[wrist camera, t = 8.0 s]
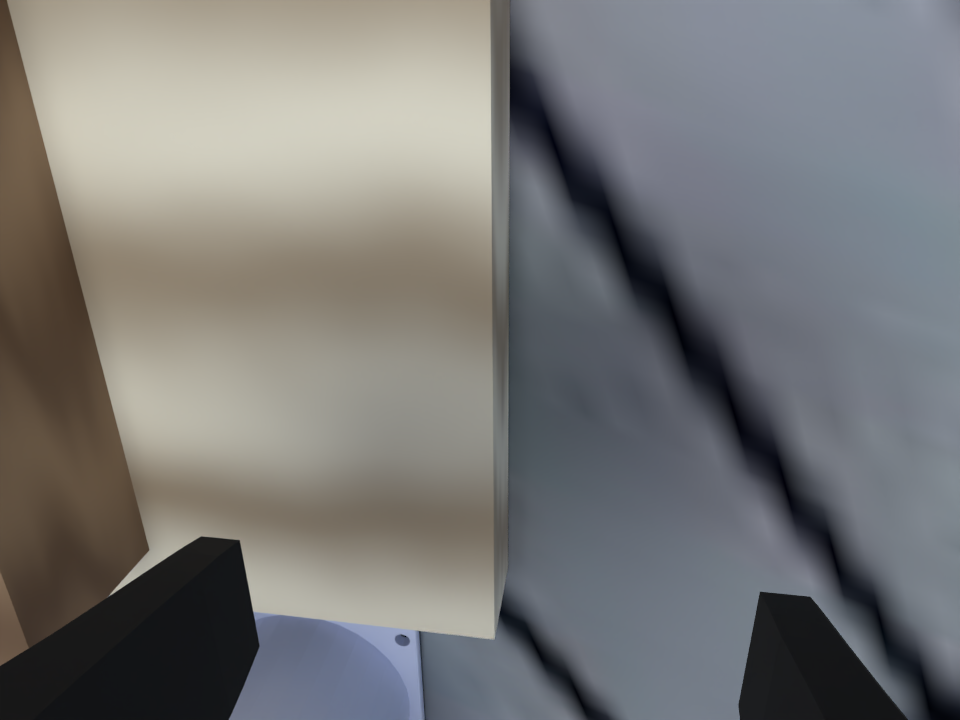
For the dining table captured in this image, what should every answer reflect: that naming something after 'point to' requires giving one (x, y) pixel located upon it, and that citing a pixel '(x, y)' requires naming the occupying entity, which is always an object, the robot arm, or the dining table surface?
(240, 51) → the birch plate
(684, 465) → the dining table surface
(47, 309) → the scraper bar
